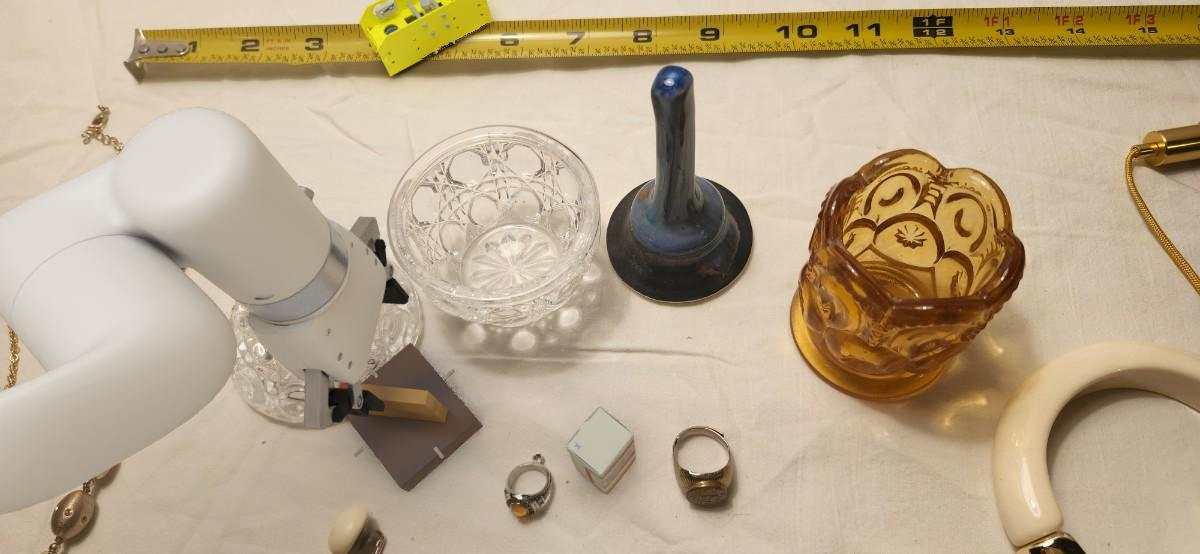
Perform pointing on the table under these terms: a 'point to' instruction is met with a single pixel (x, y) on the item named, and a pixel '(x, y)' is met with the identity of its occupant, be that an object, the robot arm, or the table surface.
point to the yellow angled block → (406, 403)
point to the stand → (414, 421)
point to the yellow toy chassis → (419, 27)
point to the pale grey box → (602, 449)
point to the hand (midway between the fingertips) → (380, 351)
